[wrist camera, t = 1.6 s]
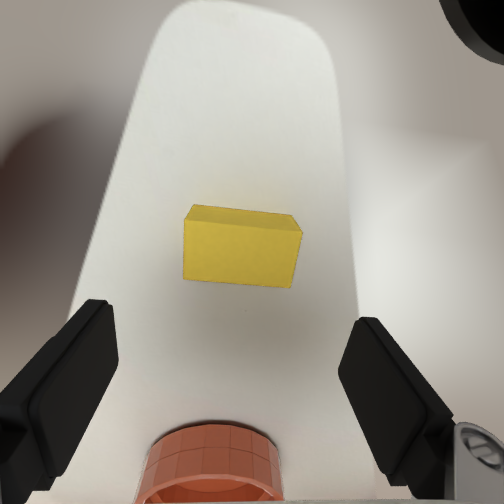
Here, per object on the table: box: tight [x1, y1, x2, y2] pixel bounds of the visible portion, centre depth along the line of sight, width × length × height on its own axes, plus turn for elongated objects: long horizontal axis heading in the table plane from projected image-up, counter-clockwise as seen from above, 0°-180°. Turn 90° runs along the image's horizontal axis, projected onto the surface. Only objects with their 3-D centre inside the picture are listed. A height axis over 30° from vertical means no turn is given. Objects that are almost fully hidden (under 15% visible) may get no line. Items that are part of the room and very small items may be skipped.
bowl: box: [133, 424, 285, 504], centre depth 29 cm, size 16×16×5 cm
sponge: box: [183, 204, 303, 288], centre depth 17 cm, size 4×7×4 cm, turn 83°
